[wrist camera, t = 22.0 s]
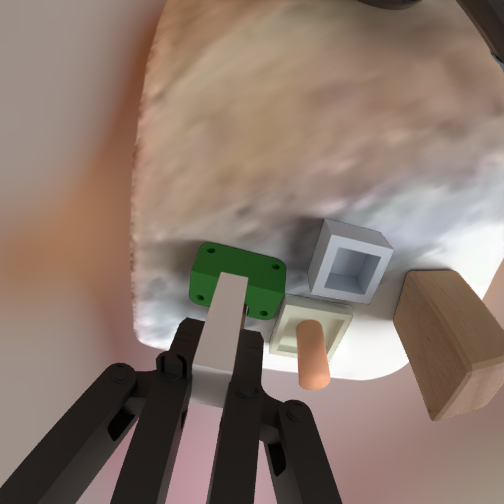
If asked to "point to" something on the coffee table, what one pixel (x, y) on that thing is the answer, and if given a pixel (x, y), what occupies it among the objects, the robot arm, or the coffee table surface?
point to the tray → (301, 309)
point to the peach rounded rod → (312, 356)
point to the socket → (348, 262)
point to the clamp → (242, 264)
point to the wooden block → (449, 342)
